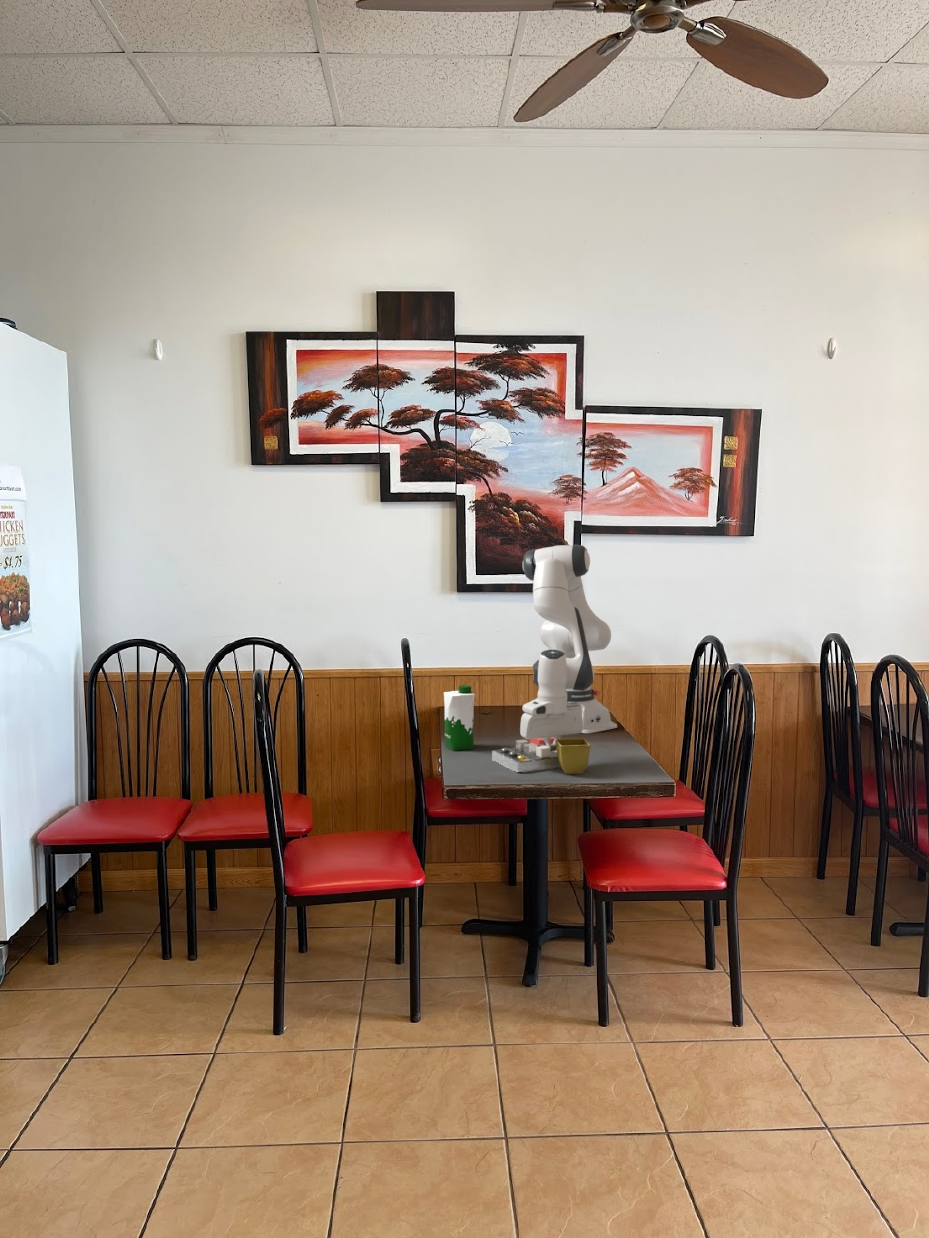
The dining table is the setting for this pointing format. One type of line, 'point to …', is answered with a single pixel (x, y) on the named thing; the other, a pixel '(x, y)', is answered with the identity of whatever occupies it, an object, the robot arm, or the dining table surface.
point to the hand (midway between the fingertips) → (552, 750)
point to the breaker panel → (525, 757)
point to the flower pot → (573, 754)
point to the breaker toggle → (543, 751)
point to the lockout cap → (541, 741)
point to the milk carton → (459, 718)
